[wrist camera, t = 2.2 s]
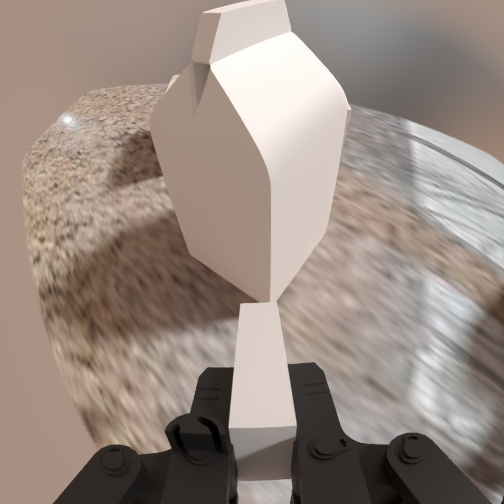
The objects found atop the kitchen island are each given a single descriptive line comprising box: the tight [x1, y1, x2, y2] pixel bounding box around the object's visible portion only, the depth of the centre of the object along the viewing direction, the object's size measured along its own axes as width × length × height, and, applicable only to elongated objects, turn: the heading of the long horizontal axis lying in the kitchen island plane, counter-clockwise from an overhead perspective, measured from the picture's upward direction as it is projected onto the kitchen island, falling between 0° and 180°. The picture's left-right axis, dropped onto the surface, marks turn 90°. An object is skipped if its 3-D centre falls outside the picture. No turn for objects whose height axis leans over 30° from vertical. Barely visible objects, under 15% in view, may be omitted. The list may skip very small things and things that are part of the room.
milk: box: [149, 0, 347, 303], centre depth 23 cm, size 12×12×26 cm
